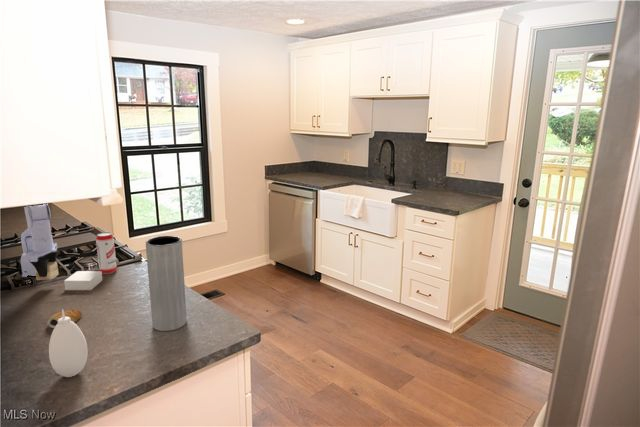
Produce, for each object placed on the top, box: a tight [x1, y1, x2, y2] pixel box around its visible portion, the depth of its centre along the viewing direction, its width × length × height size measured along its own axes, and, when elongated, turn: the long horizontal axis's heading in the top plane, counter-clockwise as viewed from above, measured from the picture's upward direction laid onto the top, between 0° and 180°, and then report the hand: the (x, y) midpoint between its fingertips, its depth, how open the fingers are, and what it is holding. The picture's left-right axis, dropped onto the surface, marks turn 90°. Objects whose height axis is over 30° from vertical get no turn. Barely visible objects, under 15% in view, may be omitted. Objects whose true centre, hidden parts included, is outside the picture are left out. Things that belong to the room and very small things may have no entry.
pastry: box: [46, 308, 83, 329], centre depth 126 cm, size 9×7×4 cm
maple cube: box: [35, 261, 60, 281], centre depth 148 cm, size 5×5×5 cm
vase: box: [145, 235, 187, 332], centre depth 123 cm, size 10×10×27 cm
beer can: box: [95, 231, 118, 275], centre depth 163 cm, size 6×6×16 cm
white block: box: [63, 270, 103, 291], centre depth 152 cm, size 9×9×4 cm
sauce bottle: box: [48, 308, 88, 378], centre depth 99 cm, size 8×8×18 cm
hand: (47, 273), depth 148 cm, fingers closed on maple cube, 5 cm apart
